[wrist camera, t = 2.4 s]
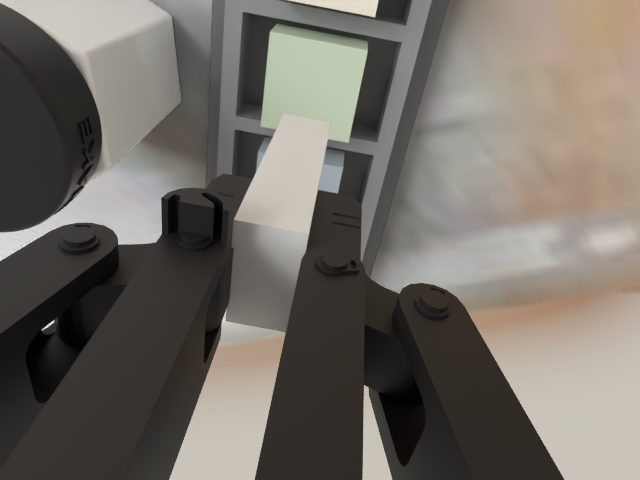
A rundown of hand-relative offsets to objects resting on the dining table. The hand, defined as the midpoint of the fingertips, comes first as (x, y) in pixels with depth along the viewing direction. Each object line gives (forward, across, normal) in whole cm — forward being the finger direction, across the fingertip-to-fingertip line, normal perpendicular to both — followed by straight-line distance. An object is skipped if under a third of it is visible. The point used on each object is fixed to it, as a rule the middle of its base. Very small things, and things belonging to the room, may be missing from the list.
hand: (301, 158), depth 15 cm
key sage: (+9, 0, 0) cm, 9 cm away
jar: (+12, -12, -2) cm, 17 cm away
